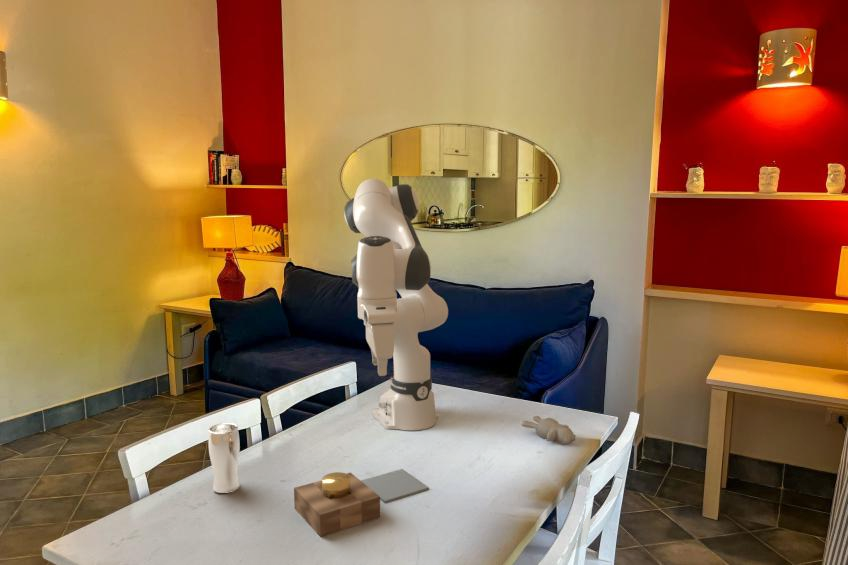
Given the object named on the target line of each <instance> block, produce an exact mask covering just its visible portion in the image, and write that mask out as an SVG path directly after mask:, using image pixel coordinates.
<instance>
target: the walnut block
mask: <svg viewBox="0 0 848 565" xmlns="http://www.w3.org/2000/svg"><path fill="white" fill-rule="evenodd" d="M346 474H348V475H349V476H350V493H349V494H348V495H346V496H344V497H340V498H335V499H332V500H330V499H329V498H328V497H326V496H324V495H323V493H322V479H321V480H319V481H318V480H317V481H314V482H311V483H307V484H303V485H299V486H295V487H294V488H293V495H294V496H293V497H294V498H293V500H294V501H293V504H294V509H295V511H297V512H298V513H299V515H300V516H301V517H302V519H304V521H306V523H308V525H309V526H310V527H311V528H312V529H313V530H314V531H315V533H316V534H317V535H318V536H319V538H321V537H324V536H327V535H330V534H333V533H336V532H340V531H343V530H346V529H349V528H352V527H355V526H359V525H362V524H364V523H368V522H370V521H373V520H376V519H380V518H381V499H380V496H379V495H377V494H376V493H375V492H374V491H373V490H371V489H370V488H369V487H368V486H366V485H365V484H364V483H363V482H362V481H361V480H360V479H359V478H358V477H357V476H356V475H354V474H353V473H352V472H348V473H346Z"/></svg>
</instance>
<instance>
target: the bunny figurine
mask: <svg viewBox="0 0 848 565" xmlns="http://www.w3.org/2000/svg"><path fill="white" fill-rule="evenodd" d="M532 420H533V421H535V422H536V423H535V422H532V421H528V420H522V422H521V427H524V428H529V429H534V430H535V432H536V434H537V437H539V438H540V439H542V440H545V439H546V440H545V441H546V442H555V443H556V442H557V443H559V444H563V445H565V444H566V445H568V444H570V443H572V442H575V441H576V438H577V436H576V434H574V432H573V430H572V429H571V428H570V427H569V426H568V425H567V424H561V423H559V422H558V421H557V420H556V419H554V418H553V417H552V418H551V417H547V418H543V419H542V418H541V417H540V416H538V415H534V416H533V417H532ZM557 443H556V444H557ZM559 444H558V445H559Z"/></svg>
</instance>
